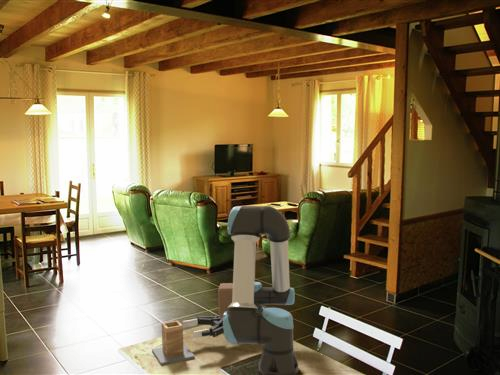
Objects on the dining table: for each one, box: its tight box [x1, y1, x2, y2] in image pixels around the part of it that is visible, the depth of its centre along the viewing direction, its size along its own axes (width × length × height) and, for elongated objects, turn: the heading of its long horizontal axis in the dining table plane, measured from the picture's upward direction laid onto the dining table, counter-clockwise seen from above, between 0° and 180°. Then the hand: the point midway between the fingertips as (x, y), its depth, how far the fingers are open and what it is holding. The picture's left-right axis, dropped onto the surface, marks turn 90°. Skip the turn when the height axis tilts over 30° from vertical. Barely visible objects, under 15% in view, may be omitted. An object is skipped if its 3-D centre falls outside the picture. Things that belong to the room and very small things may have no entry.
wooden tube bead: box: [161, 320, 184, 357], centre depth 201 cm, size 7×7×12 cm
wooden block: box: [217, 282, 233, 318], centre depth 232 cm, size 10×10×20 cm
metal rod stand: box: [151, 342, 196, 366], centre depth 201 cm, size 15×14×11 cm
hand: (188, 329), depth 203 cm, fingers open, 13 cm apart
